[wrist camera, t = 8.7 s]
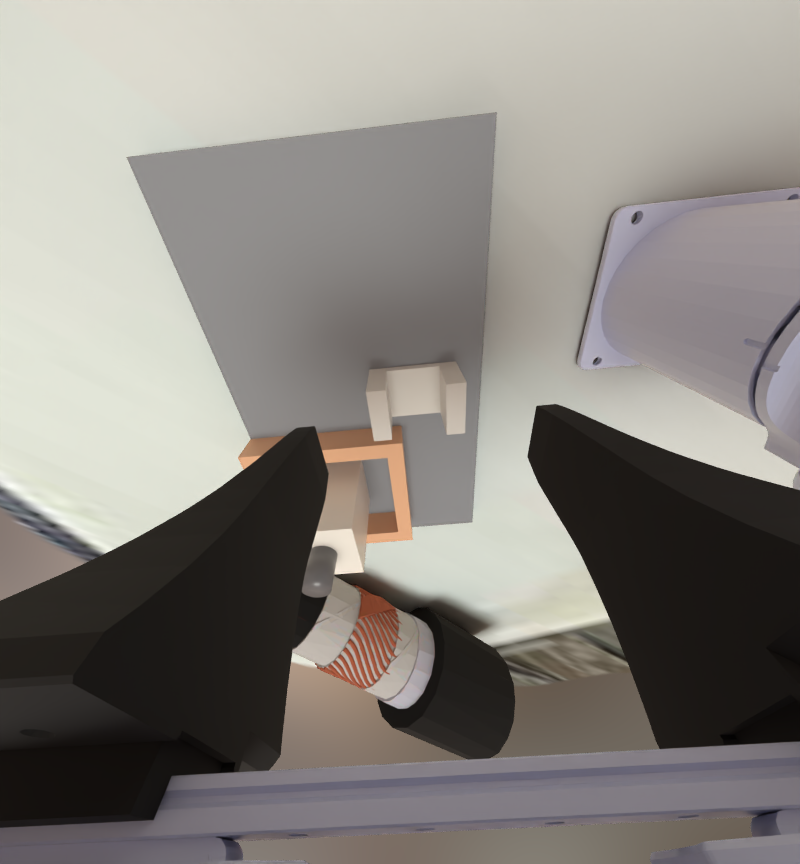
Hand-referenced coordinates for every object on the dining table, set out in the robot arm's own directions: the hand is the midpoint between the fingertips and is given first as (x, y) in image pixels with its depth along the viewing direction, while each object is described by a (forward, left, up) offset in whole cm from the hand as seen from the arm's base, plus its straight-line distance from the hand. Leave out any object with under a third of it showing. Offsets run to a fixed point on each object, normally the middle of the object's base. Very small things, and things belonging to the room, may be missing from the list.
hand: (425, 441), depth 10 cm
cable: (+7, +25, -10) cm, 28 cm away
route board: (+4, +3, -9) cm, 10 cm away
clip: (0, +2, -9) cm, 10 cm away
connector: (+6, +9, -8) cm, 14 cm away
